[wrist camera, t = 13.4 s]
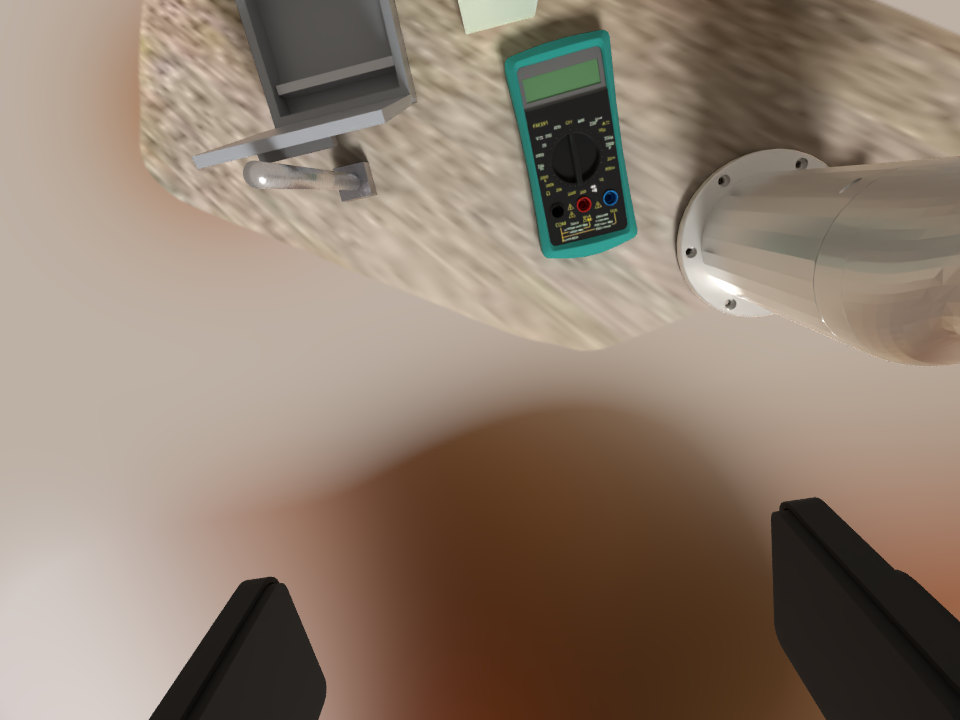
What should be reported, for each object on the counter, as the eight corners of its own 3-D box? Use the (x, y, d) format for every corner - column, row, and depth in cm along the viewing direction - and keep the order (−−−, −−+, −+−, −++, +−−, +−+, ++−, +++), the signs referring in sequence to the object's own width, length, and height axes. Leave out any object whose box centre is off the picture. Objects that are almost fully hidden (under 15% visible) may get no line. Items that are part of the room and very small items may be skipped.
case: (373, -93, 33) (361, -120, 30) (417, 102, 37) (410, 94, 34) (236, -52, 34) (212, -74, 31) (292, 133, 38) (275, 128, 35)
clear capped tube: (368, 163, 38) (271, 141, 22) (376, 194, 39) (288, 195, 23) (339, 169, 38) (222, 153, 22) (348, 201, 39) (241, 206, 23)
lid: (381, 109, 24) (388, 134, 24) (410, 94, 34) (415, 112, 34) (191, 156, 25) (203, 180, 25) (275, 128, 35) (282, 145, 36)
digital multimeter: (543, 262, 41) (546, 267, 38) (502, 64, 36) (502, 53, 33) (631, 240, 40) (642, 244, 37) (601, 35, 35) (610, 21, 32)
